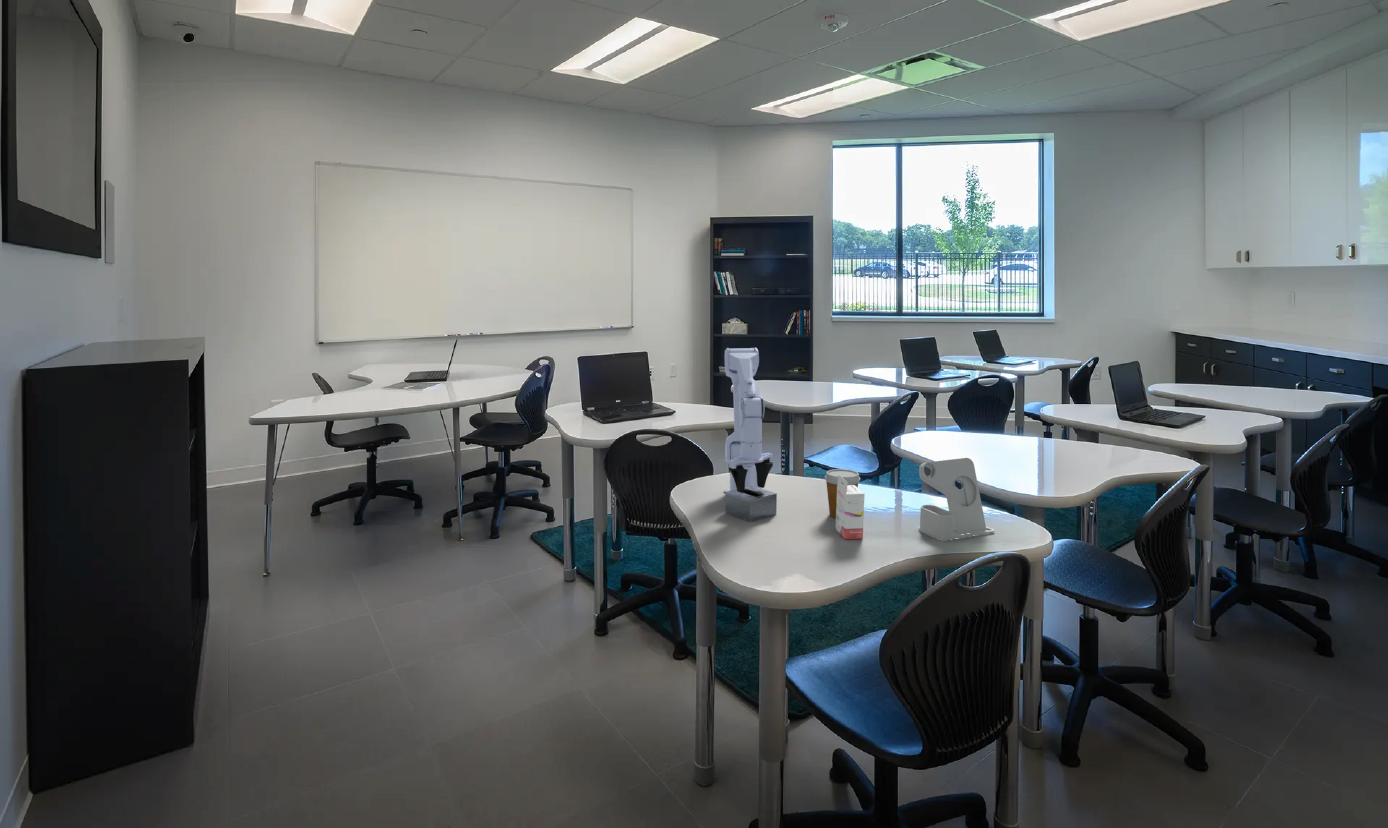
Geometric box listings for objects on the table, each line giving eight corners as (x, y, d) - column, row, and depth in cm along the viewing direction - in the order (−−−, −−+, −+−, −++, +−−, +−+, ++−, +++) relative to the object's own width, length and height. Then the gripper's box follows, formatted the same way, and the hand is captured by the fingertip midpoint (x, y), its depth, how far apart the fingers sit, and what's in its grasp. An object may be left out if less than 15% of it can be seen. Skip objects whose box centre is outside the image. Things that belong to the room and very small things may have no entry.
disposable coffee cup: (860, 512, 198) (862, 470, 196) (856, 522, 190) (858, 478, 187) (826, 508, 201) (827, 467, 199) (821, 519, 193) (822, 476, 191)
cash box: (751, 506, 205) (751, 485, 204) (776, 514, 197) (776, 493, 196) (725, 512, 198) (725, 492, 197) (749, 521, 191) (749, 500, 190)
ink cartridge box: (864, 539, 177) (866, 482, 174) (844, 540, 177) (846, 482, 174) (853, 528, 185) (855, 473, 183) (834, 528, 185) (836, 473, 182)
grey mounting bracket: (940, 542, 175) (944, 470, 172) (914, 529, 184) (917, 461, 181) (996, 533, 181) (1001, 464, 178) (967, 521, 190) (971, 455, 187)
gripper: (741, 447, 187) (741, 497, 189) (780, 440, 195) (779, 487, 198) (723, 443, 192) (723, 491, 194) (762, 436, 201) (762, 482, 203)
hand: (750, 489), depth 196 cm, fingers open, 7 cm apart
